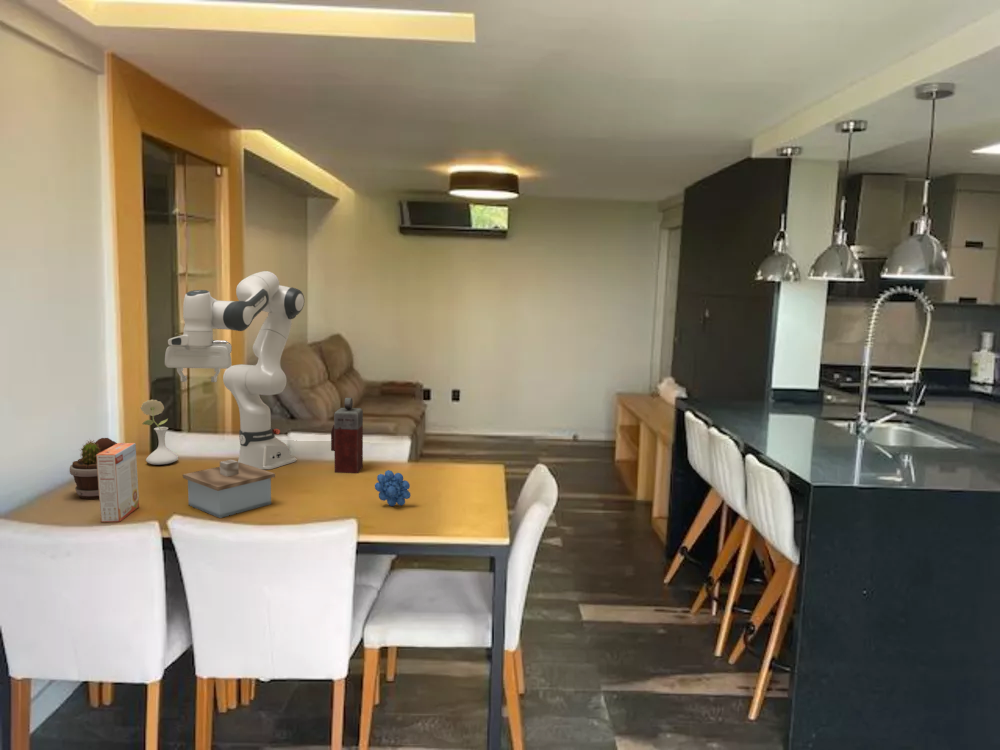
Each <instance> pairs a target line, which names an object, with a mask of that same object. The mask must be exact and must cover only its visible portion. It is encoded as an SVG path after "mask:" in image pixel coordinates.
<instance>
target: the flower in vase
mask: <svg viewBox="0 0 1000 750" xmlns="http://www.w3.org/2000/svg"><path fill="white" fill-rule="evenodd" d="M140 410H141V412H142V413H143V414H144V415H146V416H152V420H151V419H146V420H145V421H144V422H143V423H142V425H146V426H151V425H153V424H155V425H156V427H155V428H153V430H154V431H155V433H156V435H157V439H158V445H157V448H156V449H155V450H154V451H152V452H151V453H150V454H149V455H148V456H147V457H146V459H145V462H147V464H151V465H156V466H157V465H158V466H159V465H168V464H172V463H175V462H176V461H178V459H179V456H178V454H177V453H175V452H174V451H173V450H170V448H168V447H167V446H166V440H165V439H166V434H167V431H168V429H169V427H168V426H161V425H165V423H166V422H168V419H169V418H166V419H164V420H161V421H159V423H157V422H156V421H155V419H154V418H155V416H157V415H159V414H163V411H164V410H165V406H164V404H163V403H162V401H158V400H157V399H150V400H149V399H147V400H146V401H144V402H142V404H141V407H140Z"/></svg>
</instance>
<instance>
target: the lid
mask: <svg viewBox="0 0 1000 750" xmlns="http://www.w3.org/2000/svg"><path fill="white" fill-rule="evenodd" d="M182 478H183V479H185V480H187V481H188V480H190V481H192V482H195V483H198V484H200V485H203V486H206V487H209V488H211V489H214V490H217V491H220V490H224V489H228V488H232V487H236V486H240V485H245V484H249V483H253V482H257V481H261V480H265V479H269V478H271V479H273V478H276V473H275V472H272V471H268V470H267V469H259V468H256V467H253V466H250V465H246V464H243V463H240V462H239V463H238V460H234V459H227V460H222V461H219V466H217V467H216V466H215V467H211V468H208V469H203V470H199V471H193V472H188V473H183V474H182Z"/></svg>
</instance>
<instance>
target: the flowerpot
mask: <svg viewBox="0 0 1000 750" xmlns="http://www.w3.org/2000/svg"><path fill="white" fill-rule="evenodd" d="M95 442H96V441H95V440H94V439H93V440H86V443H85V444H83V445H82V447H81V448H79V449H78V450H79V451H80V453H79V456H80V458H79V459H77V460H76V461H75V460H73V461H72V464H71V465H70V466H69V474H70V475H71V476H73V478H74V483H75V484H76V486H75V491H76V495H78V496H79V497H80V498H82V499H89V500H91V499H92V500H97V499H96V498H98V499H99V487H98V473H97V459H96V455H97V454H98V450H99V451H101V449H99V447H97V446H98V445H96V443H95ZM97 444H98V443H97ZM99 453H100V452H99Z"/></svg>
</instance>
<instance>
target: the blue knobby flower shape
mask: <svg viewBox="0 0 1000 750" xmlns="http://www.w3.org/2000/svg"><path fill="white" fill-rule="evenodd" d="M376 479H377V481H378V482H376V483H374V489H375V491H377V492H378V499H379V500H381V501H383V502H385V501H386V503H387V504H388V506H390V507H395V506H396V504H397V505H398V506H403V505H405V504H406V500H408V499H411V492H410V490H409V489H410V488H411V486H410V485H411V484H410V483H409V481H407V480H404V475H403V474H402V473H401V472H396V473H394V472H393V471H392V470H390V469H388V470H386V471H384V474H383V473H379V474H378V475H377V477H376Z"/></svg>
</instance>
